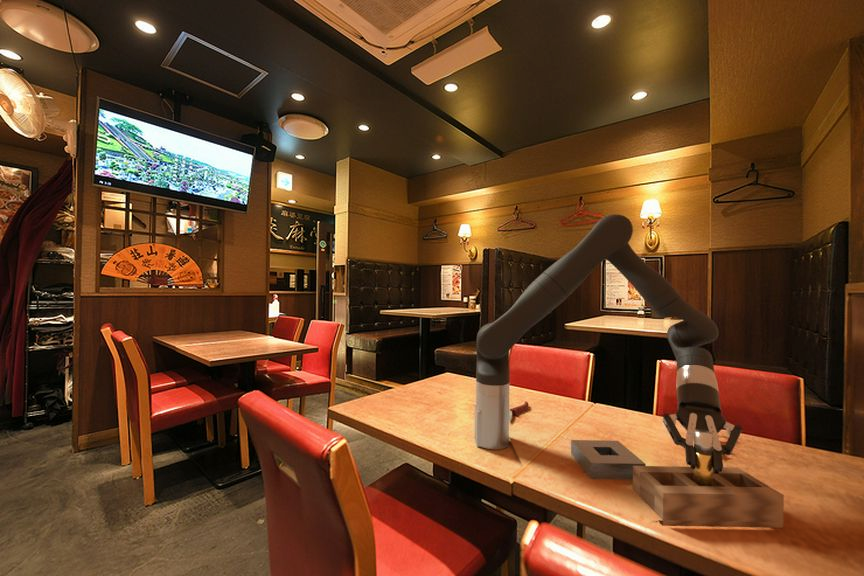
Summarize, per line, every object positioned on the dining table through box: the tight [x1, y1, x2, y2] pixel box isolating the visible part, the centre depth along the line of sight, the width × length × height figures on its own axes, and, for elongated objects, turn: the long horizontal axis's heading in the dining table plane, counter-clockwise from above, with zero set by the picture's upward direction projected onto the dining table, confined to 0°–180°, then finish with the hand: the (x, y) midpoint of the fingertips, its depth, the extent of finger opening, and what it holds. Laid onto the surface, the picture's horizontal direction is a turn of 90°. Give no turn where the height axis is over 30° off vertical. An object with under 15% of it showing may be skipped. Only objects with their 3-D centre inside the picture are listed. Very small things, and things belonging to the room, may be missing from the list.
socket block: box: [570, 439, 647, 481], centre depth 86 cm, size 12×12×4 cm
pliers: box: [509, 400, 530, 423], centre depth 124 cm, size 12×20×3 cm, turn 160°
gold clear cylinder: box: [693, 429, 713, 486], centre depth 71 cm, size 3×3×12 cm
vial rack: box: [632, 465, 785, 529], centre depth 71 cm, size 22×10×6 cm, turn 90°
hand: (704, 469), depth 69 cm, fingers closed on gold clear cylinder, 3 cm apart
